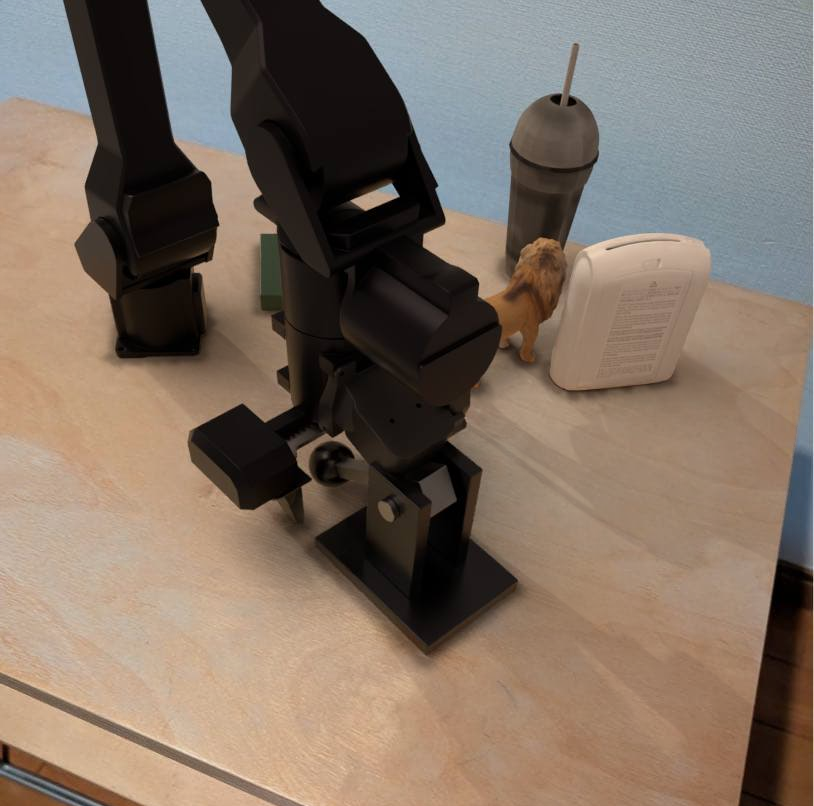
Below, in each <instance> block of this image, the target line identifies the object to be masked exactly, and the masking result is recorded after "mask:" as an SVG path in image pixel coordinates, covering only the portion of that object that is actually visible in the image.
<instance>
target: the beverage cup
mask: <svg viewBox="0 0 814 806" xmlns="http://www.w3.org/2000/svg"><path fill="white" fill-rule="evenodd" d="M579 51H580V43H578V42H573V43H572V46H571V51H570V56H569V61H568V66H567V70H566V75H565V80H564V85H563V89H562V93H560V92H556V93H549V94H547V95H544V96H541V97H539V98H538V99H536V100H534V101H533V102H532V103H531V104H529V106H528V107H526V108H525V110H524V111H523V112H522V113H521V115H520V116H519V118H518V119H517V123H516V125H515V128H514V130H513V132H512V136H511V138H510V141H509V143H508V146H509V169H510V174H511V175H510V186H509V200H508V213H507V225H506V238H505V239H506V240H505V266H504V269H505V270H504V271H505V273H506V275H507V276H508V277H509V278H510V279H511V278H512V276H513V274H514V273H515V267H516V265H517V264H518V262H519V259H520V256H521V255H520V253H521V250H522V249H523V248H525V247H526V246H527V245H528V244H533V243H534V241H537V239H539V238H547V239H553V240H555V241H556V242H557V241H558V242H560V246H561V248H562V250H563V251H565V247H566V243H567V241H568V238H569V235H570V232H571V228H572V226H573V222H574V220H575V216H576V213H577V211H578V207H579V204H580V201H581V198H582V195H583V192H584V189H585V186H586V184H588V181H589V179H590V177H591V175H592V173H593V171H594V166H595V165H596V164H597V163H598V160H599V158H600V157H599V156H600V149H599V148H600V147H599V146H600V131H599V126H598V124H597V120H596V117H595V115H594V114H593V112H592V110H591V109H590V108H589V106H588V105H587V104H586V103H585V102H584V101H583V100H582V99H580V98H579V97H576V96H574V95H572V94H571V93H570V92H571V88H572V84H573V79H574V75H575V74H574V73H575V69H576V64H577V60H578V55H579Z"/></svg>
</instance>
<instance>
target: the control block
mask: <svg viewBox="0 0 814 806" xmlns="http://www.w3.org/2000/svg"><path fill="white" fill-rule="evenodd" d="M259 301H260V310H261V311H282V310H283V300H282V288H281V276H280V265H279V253H278V241H277V233H260V234H259Z"/></svg>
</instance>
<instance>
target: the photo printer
mask: <svg viewBox="0 0 814 806" xmlns="http://www.w3.org/2000/svg"><path fill="white" fill-rule="evenodd" d="M711 273H712V254H711V250H710V249H709V248H708V247H706V246H705V244H704V241H702V240H700V239H697V238H694V237H691V236H687V235H682V234H675V233H663V232H653V233H651V232H649V233H637V234H631V235H624V236H619V237H615V238H611V239H607V240H603V241H600V242H598V243H595V244H592V245H589V246H588V247H585V248H584V249H581V250H580V251H579V253H578V254H577V256H576V258H575V260H574V263H573V267H572V272H571V275H570V280H569V283H568V287H567V291H566V295H565V299H564V302H563V303H564V304H563V307H562V310H561V315H560V320H559V324H558V327H557V331H556V335H555V340H554V343H553V348H552V351H551V358H550V363H551V364H550V367H549V375H550V379H552V381H553V382H554V384H556V385H557V387H560V388H561V389H564V390H567V391H587V390H600V389H608V388H620V387H627V386H636V385H637V386H639V385H647V384H654V383H655V384H656V383H661V382H665V381H668V380H669V379H671V377H672V376H673V374H674V372H675V370H676V367H677V364H678V361H679V358H680V356H681V353H682V351H683V349H684V346H685V343H686V340H687V337H688V336H689V332H690V330H691V328H692V325H693V322H694V319H695V317H696V314H697V313H698V309H699V307H700V304H701V301H702V299H703V296H704V294H705V291H706V289H707V286H708V285H709V281H710V279H711Z"/></svg>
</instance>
